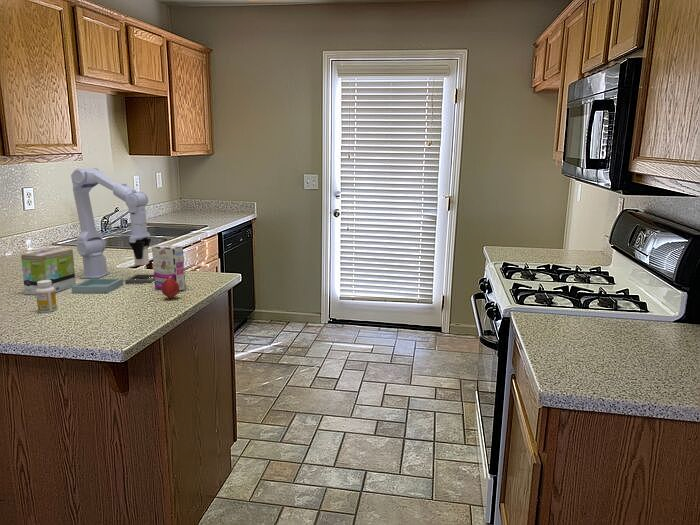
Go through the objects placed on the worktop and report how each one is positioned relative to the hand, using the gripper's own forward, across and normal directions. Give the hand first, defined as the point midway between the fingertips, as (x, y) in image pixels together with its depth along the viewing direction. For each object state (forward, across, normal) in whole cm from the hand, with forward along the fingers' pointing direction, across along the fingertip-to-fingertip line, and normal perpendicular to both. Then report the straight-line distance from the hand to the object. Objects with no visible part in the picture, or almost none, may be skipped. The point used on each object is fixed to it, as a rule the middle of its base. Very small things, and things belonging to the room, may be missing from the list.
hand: (141, 258), depth 215 cm
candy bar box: (+10, -14, -16) cm, 23 cm away
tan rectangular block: (+2, 0, 0) cm, 2 cm away
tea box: (+10, -15, +28) cm, 34 cm away
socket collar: (+9, 0, 0) cm, 9 cm away
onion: (+10, -27, -21) cm, 36 cm away
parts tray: (+9, -14, +12) cm, 20 cm away
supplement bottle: (+10, -42, +14) cm, 45 cm away
